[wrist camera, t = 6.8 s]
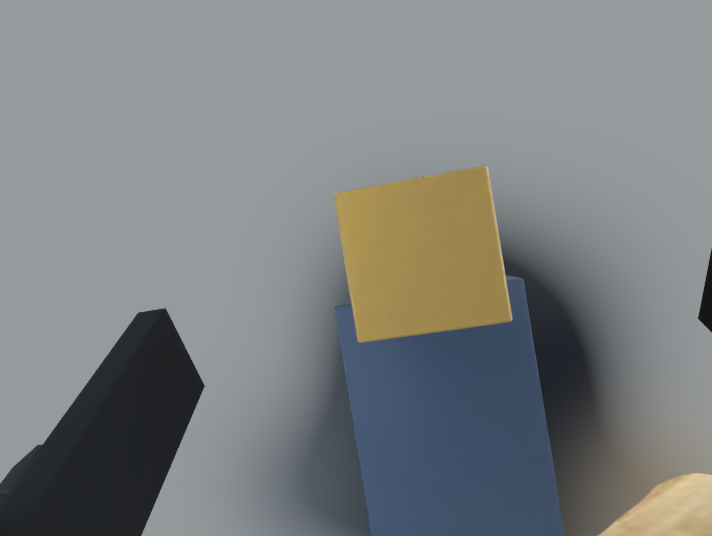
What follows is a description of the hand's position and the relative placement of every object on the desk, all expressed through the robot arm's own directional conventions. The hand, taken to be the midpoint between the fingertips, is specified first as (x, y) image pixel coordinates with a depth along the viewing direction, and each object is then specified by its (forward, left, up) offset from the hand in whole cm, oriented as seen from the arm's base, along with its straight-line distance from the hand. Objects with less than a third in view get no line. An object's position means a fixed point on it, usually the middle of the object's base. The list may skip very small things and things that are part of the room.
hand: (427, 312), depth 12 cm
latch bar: (+7, -8, 0) cm, 10 cm away
